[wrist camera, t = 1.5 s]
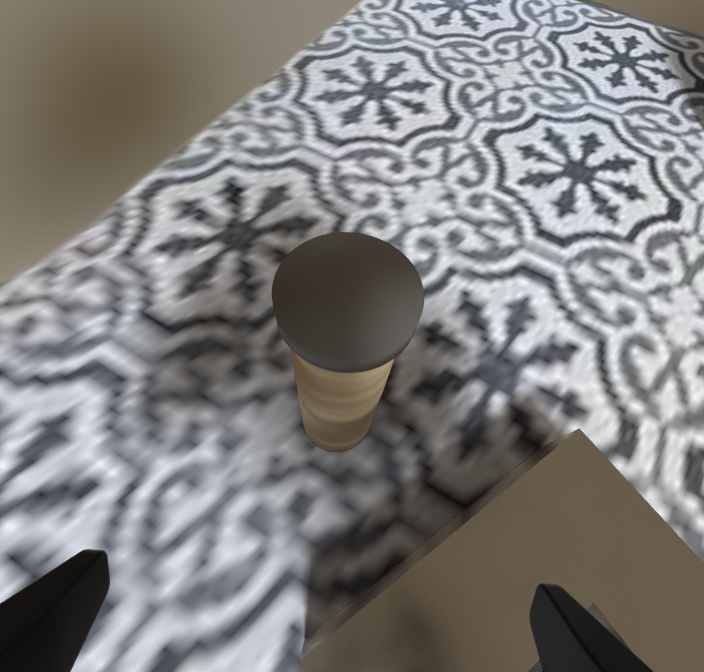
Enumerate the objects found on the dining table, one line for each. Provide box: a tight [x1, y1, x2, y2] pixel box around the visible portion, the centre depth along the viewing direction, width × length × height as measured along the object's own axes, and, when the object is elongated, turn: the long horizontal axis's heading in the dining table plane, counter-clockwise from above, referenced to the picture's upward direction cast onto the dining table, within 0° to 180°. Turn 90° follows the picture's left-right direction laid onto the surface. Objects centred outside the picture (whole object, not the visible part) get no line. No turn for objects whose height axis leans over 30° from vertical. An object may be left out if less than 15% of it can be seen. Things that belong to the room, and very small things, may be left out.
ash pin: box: [272, 232, 424, 452], centre depth 18 cm, size 5×5×13 cm
